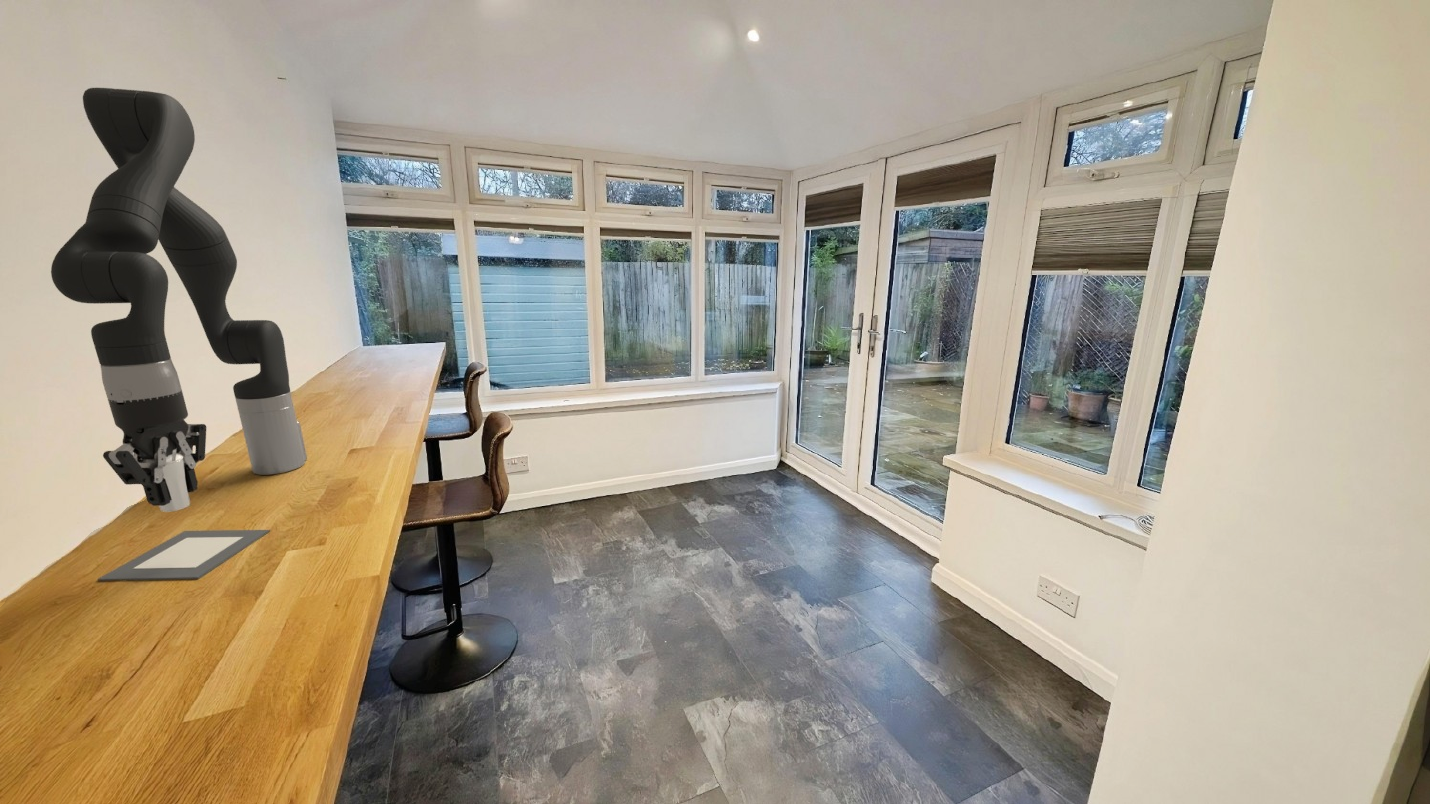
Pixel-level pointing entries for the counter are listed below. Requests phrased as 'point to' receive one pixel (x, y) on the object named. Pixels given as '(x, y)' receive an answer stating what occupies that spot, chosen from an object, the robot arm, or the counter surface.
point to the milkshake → (174, 482)
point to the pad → (186, 555)
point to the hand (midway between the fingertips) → (175, 497)
